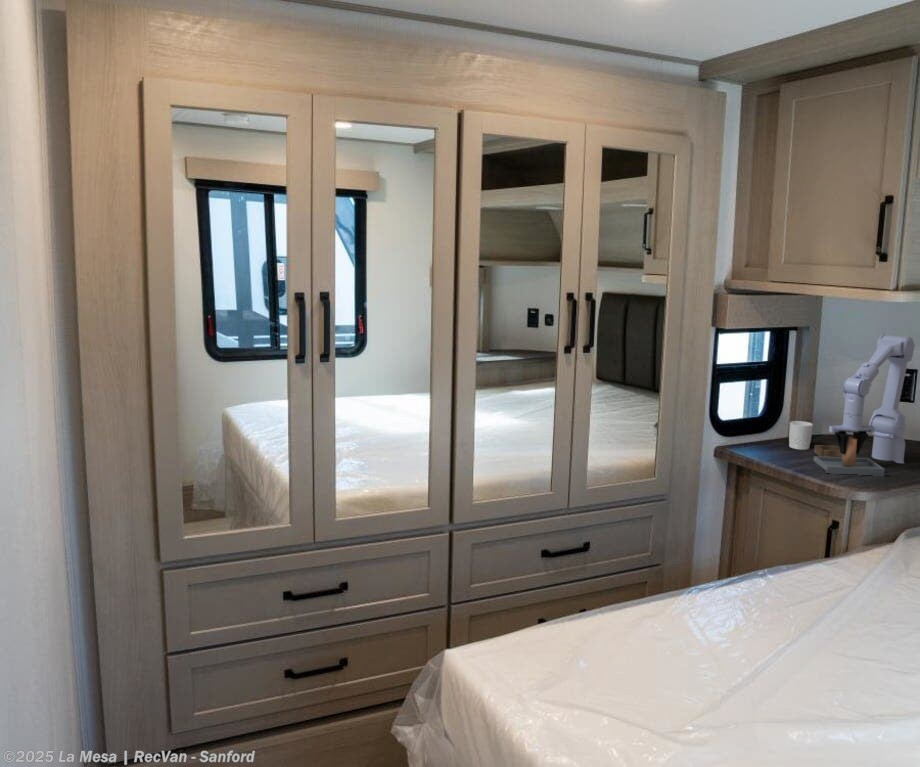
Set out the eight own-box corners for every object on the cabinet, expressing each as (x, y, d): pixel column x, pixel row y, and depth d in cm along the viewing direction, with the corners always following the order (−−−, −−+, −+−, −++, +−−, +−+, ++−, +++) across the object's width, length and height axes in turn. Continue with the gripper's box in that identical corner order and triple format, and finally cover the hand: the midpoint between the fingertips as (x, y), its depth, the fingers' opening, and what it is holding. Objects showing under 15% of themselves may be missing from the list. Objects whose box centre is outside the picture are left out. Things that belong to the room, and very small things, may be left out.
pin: (850, 462, 259) (853, 436, 258) (857, 465, 255) (860, 439, 254) (839, 462, 259) (841, 436, 257) (845, 465, 255) (848, 439, 253)
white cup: (812, 453, 278) (815, 426, 276) (789, 451, 280) (792, 425, 278) (807, 447, 286) (810, 421, 284) (785, 446, 287) (787, 420, 286)
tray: (867, 465, 263) (868, 458, 262) (884, 476, 250) (884, 469, 250) (813, 463, 265) (813, 456, 264) (826, 474, 252) (827, 466, 252)
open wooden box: (835, 455, 276) (836, 445, 275) (843, 460, 268) (844, 451, 267) (813, 454, 276) (814, 445, 276) (821, 460, 269) (822, 450, 268)
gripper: (867, 411, 258) (863, 449, 261) (825, 411, 258) (822, 450, 260) (879, 415, 251) (875, 455, 254) (837, 415, 251) (833, 455, 253)
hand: (849, 453), depth 256 cm, fingers closed on pin, 4 cm apart
